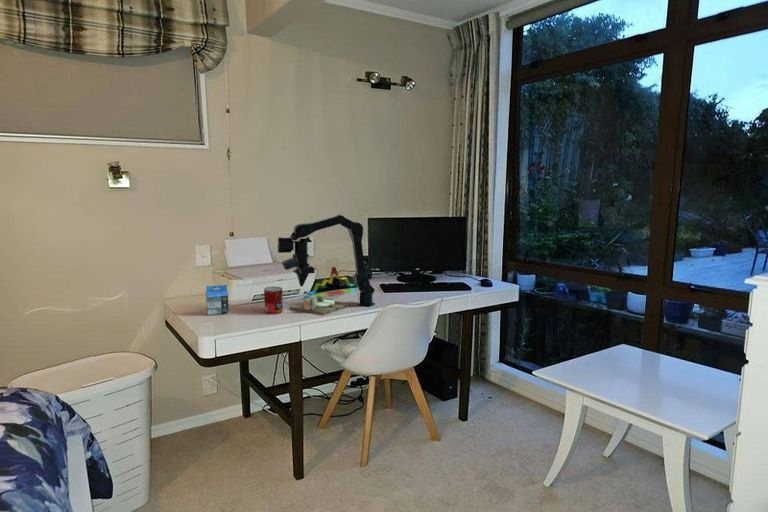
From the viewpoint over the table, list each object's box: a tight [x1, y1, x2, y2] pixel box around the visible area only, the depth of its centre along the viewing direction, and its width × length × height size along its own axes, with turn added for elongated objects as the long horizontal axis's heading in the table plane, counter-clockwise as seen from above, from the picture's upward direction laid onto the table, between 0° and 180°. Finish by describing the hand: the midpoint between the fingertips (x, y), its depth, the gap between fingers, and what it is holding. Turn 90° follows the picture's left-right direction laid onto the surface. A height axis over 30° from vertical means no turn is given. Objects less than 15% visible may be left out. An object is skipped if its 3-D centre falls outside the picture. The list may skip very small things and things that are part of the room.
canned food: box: [263, 286, 284, 315], centre depth 214 cm, size 8×8×11 cm
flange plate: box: [302, 296, 335, 310], centre depth 221 cm, size 18×13×4 cm
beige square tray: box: [288, 299, 351, 316], centre depth 224 cm, size 20×20×6 cm
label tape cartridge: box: [205, 284, 230, 316], centre depth 211 cm, size 9×4×12 cm, turn 114°
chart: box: [303, 266, 356, 299], centre depth 248 cm, size 30×3×15 cm, turn 133°
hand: (301, 286), depth 219 cm, fingers closed
